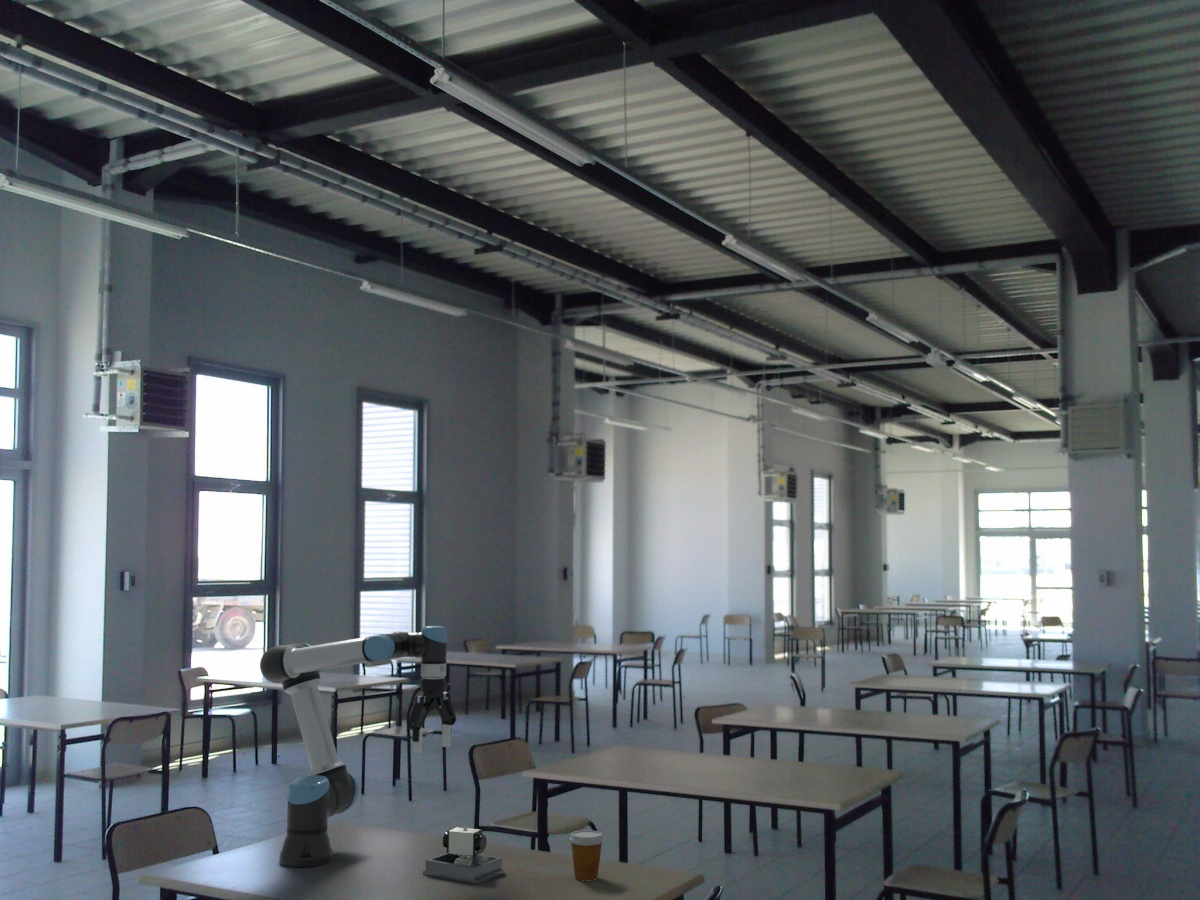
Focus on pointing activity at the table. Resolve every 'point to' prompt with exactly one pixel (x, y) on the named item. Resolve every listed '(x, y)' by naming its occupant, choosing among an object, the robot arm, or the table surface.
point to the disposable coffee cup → (586, 853)
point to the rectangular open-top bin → (464, 868)
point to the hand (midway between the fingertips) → (431, 749)
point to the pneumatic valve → (464, 844)
